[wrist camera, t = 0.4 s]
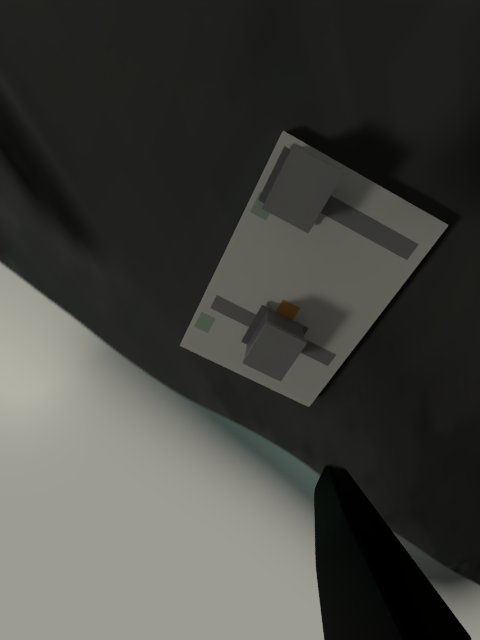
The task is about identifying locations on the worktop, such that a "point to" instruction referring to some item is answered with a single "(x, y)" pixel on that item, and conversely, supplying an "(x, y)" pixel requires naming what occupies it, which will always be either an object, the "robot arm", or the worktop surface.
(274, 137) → the worktop surface
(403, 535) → the worktop surface
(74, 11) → the worktop surface
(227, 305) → the breaker board
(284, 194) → the block
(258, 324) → the breaker
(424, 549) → the worktop surface
